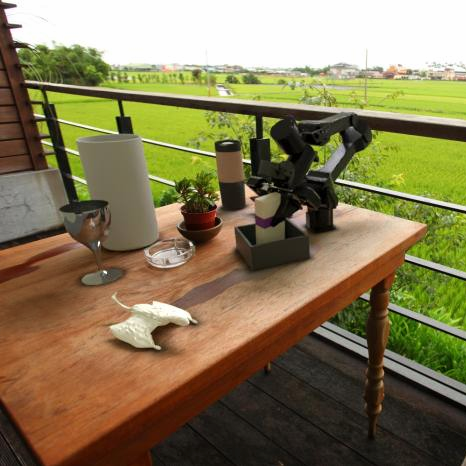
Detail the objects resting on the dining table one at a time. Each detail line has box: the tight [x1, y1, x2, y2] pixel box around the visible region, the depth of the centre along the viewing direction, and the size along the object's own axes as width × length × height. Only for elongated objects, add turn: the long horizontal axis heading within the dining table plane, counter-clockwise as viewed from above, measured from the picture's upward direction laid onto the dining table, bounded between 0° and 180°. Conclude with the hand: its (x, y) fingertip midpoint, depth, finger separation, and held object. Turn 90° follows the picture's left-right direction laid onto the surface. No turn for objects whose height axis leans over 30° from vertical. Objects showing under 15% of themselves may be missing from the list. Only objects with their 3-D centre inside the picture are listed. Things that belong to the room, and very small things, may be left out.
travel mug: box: [213, 139, 247, 211], centre depth 118 cm, size 8×8×20 cm
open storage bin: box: [233, 217, 311, 271], centre depth 89 cm, size 13×13×6 cm
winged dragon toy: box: [109, 291, 198, 351], centre depth 63 cm, size 18×10×4 cm, turn 66°
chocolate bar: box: [254, 192, 285, 245], centre depth 87 cm, size 3×6×13 cm, turn 142°
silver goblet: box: [58, 199, 123, 286], centre depth 76 cm, size 8×8×15 cm
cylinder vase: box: [75, 133, 160, 252], centre depth 90 cm, size 12×12×25 cm
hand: (265, 224), depth 86 cm, fingers closed on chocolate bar, 3 cm apart
